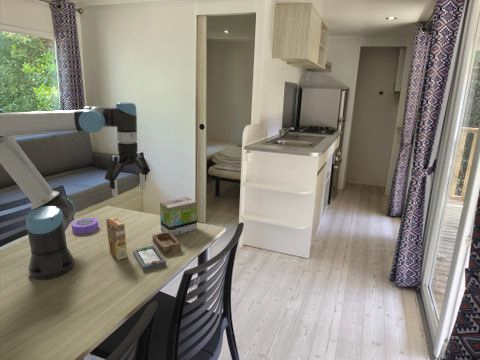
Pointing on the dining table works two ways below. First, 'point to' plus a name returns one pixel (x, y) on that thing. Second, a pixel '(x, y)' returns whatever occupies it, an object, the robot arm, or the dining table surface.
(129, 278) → the dining table surface
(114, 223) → the candy box
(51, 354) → the dining table surface
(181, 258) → the dining table surface
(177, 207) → the tea box
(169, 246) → the trough
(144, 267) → the base
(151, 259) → the grey rectangular panel
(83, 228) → the masking tape
